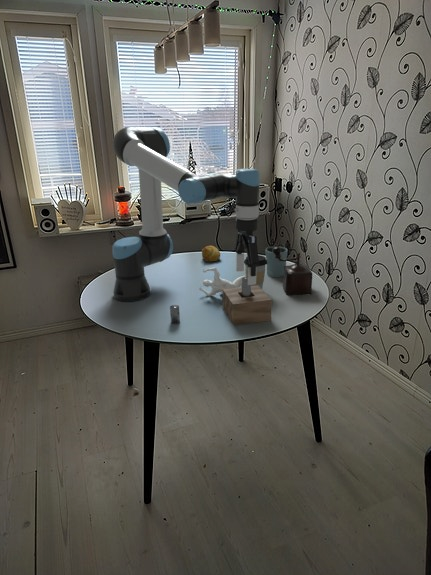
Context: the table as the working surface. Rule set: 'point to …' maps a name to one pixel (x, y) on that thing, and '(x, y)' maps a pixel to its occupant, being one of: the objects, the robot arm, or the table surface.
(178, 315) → the short pin
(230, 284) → the person figurine
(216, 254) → the bread roll
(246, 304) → the pin block
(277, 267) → the light blue mug
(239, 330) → the table surface
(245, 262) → the coffee cup
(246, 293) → the long pin
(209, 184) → the robot arm
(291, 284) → the manual coffee grinder
